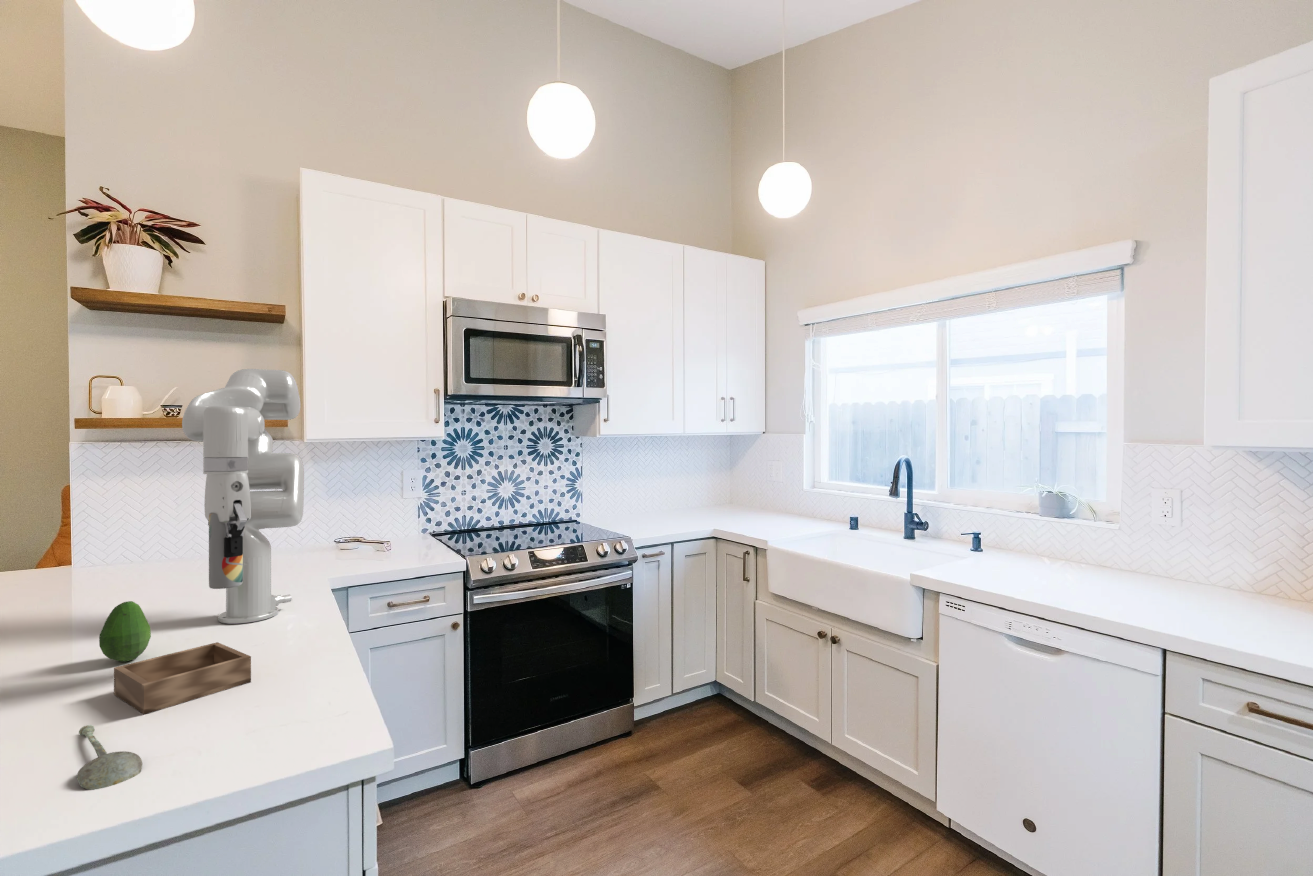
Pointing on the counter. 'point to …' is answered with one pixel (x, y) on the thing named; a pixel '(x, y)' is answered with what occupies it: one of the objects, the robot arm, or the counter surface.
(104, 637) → the avocado
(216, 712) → the counter surface
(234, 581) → the lotion bottle
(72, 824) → the counter surface
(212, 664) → the walnut tray
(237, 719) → the counter surface
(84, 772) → the soupspoon
